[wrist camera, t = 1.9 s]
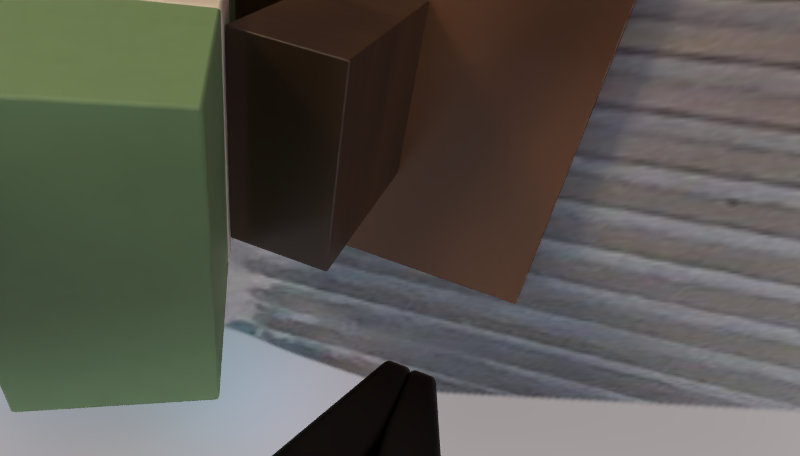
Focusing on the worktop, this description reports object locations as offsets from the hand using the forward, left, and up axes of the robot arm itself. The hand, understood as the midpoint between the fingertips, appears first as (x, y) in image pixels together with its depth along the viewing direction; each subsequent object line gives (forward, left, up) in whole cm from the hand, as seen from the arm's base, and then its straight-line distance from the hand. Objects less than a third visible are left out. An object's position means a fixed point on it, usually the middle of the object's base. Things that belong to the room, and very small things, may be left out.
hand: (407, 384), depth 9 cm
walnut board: (-9, 0, -12) cm, 15 cm away
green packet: (-9, 0, -11) cm, 14 cm away
